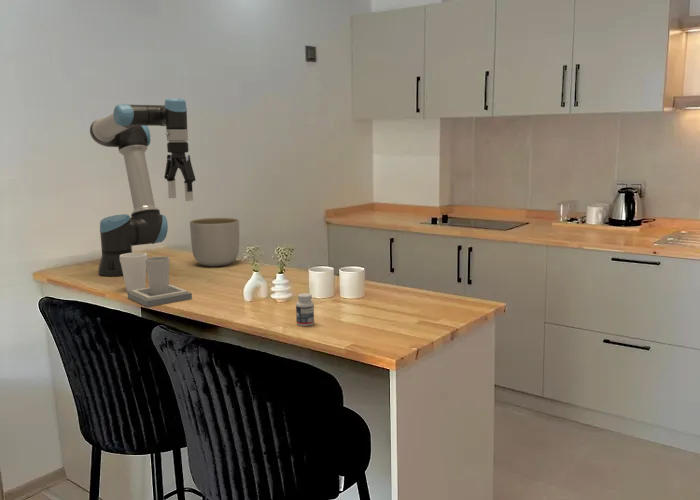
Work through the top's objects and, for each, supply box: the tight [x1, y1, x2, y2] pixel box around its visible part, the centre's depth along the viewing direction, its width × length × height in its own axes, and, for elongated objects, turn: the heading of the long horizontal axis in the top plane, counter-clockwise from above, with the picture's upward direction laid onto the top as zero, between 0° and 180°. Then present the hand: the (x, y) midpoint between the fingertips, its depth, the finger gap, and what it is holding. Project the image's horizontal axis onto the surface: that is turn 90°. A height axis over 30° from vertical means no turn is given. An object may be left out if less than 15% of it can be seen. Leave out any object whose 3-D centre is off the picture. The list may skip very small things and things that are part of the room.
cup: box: [145, 255, 170, 295], centre depth 223 cm, size 8×8×12 cm
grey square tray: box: [127, 283, 193, 308], centre depth 224 cm, size 16×16×3 cm
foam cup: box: [120, 252, 148, 293], centre depth 236 cm, size 10×9×13 cm
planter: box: [189, 217, 240, 267], centre depth 282 cm, size 21×21×19 cm
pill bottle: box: [295, 292, 315, 327], centre depth 192 cm, size 5×5×9 cm
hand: (180, 199), depth 243 cm, fingers open, 13 cm apart
